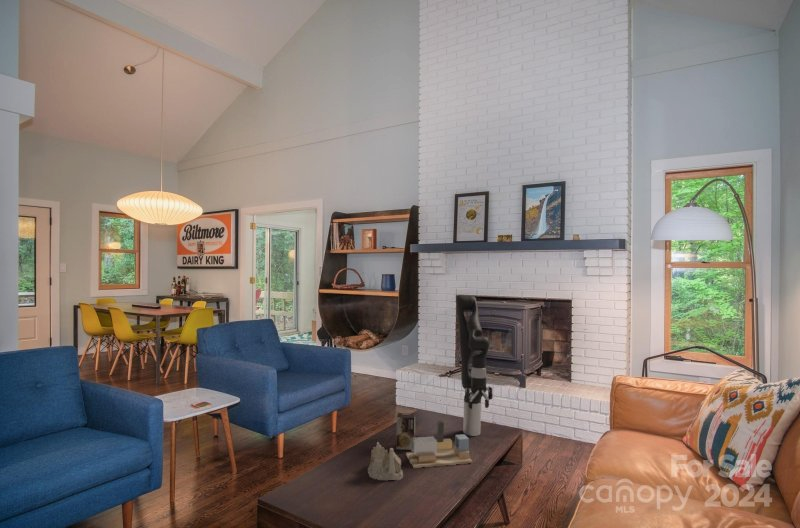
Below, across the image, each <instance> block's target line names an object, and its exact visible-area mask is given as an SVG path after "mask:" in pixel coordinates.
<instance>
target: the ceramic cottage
mask: <svg viewBox="0 0 800 528" xmlns="http://www.w3.org/2000/svg"><path fill="white" fill-rule="evenodd" d="M388 451H389V452H388ZM401 466H402V460H401V458H400V457H399V456H398V455H397V453H396V452H395V451H394V448H393V447H390V448H389V450H388V449H385V447H383V446H382V445H381V444H380V443H379V442H378V441H377V442H376V446H374V447H372V449H371V454H370V464H369V465H368V467H367V474H369V475H368V476H369V478H371V479H373V480H376V479H377V481H388V480H397V481H400V480H402V479H403V477H404V472H403V469H402V467H401Z"/></svg>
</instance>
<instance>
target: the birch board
mask: <svg viewBox="0 0 800 528" xmlns="http://www.w3.org/2000/svg"><path fill="white" fill-rule="evenodd" d="M435 455H436V462H428V463H418V461H417V459H416V458H415V456H414V454H413V452H412V451H411V452H405V456H406V458H407V460H408V459H409V460H408V461H409V463H410V465H411V464H412V465H411V466H413V467H412V469H421V468H422V467H425V468H433V466H437V467H445V466H446V465H449V466H457V465H456V464H461V465H469V464H468V463H472V464H473V460H472V459H471V458H465V459H459V457H458V456H457V455H456V454H455V453H454V448H452V449H440V450H437V453H435Z"/></svg>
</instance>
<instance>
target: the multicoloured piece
mask: <svg viewBox="0 0 800 528" xmlns="http://www.w3.org/2000/svg"><path fill="white" fill-rule="evenodd" d="M444 425H445V422H444V421H443V420H437V422H436V438H435V439H436V441H437V450H448V449H453V440H452V439H451V438H444V432H445V430H444V429H445V428H444V427H445V426H444Z"/></svg>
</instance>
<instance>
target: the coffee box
mask: <svg viewBox="0 0 800 528" xmlns="http://www.w3.org/2000/svg"><path fill="white" fill-rule="evenodd" d="M411 438H416V413H412V412H409V413H408V412H397V414H396V438H395V439H396V445H395V446H396V447H395V449H396V450H407V451H411Z"/></svg>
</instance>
